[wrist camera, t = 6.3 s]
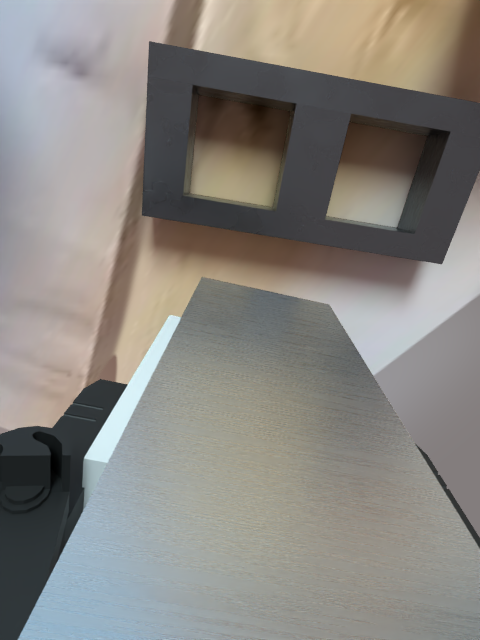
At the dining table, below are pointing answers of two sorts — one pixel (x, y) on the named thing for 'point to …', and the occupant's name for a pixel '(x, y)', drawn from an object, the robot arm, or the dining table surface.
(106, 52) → the dining table surface
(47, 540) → the robot arm
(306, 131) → the dark grey flat frame
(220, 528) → the solid steel block
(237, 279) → the dining table surface
